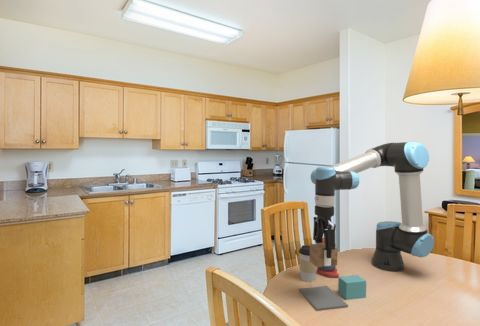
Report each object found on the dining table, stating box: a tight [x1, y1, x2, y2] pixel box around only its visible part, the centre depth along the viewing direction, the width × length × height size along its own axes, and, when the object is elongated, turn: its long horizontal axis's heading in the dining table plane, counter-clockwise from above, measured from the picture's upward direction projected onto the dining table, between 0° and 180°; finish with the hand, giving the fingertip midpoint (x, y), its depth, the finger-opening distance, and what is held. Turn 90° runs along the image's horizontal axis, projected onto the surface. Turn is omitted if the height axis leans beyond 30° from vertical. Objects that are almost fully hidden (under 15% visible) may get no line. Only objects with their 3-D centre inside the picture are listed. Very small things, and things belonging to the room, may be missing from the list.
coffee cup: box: [298, 245, 318, 283], centre depth 135 cm, size 9×9×15 cm
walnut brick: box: [309, 243, 339, 268], centre depth 116 cm, size 9×6×7 cm, turn 103°
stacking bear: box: [316, 237, 340, 279], centre depth 141 cm, size 11×10×18 cm
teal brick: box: [337, 274, 367, 301], centre depth 120 cm, size 9×6×7 cm, turn 102°
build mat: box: [298, 285, 349, 312], centre depth 117 cm, size 13×16×1 cm
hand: (323, 262), depth 116 cm, fingers closed on walnut brick, 6 cm apart
